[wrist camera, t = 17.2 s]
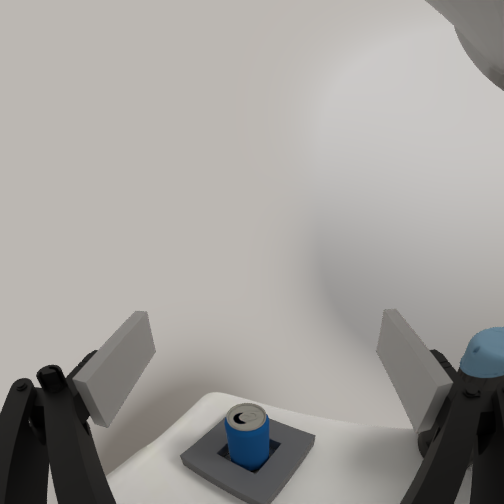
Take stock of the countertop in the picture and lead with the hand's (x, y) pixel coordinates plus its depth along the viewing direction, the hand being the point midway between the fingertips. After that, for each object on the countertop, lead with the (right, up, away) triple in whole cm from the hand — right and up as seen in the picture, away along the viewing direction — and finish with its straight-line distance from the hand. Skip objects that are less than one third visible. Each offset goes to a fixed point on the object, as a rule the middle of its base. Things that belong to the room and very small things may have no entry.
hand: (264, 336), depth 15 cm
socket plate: (-1, -30, +23) cm, 38 cm away
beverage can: (-1, -30, +23) cm, 38 cm away
